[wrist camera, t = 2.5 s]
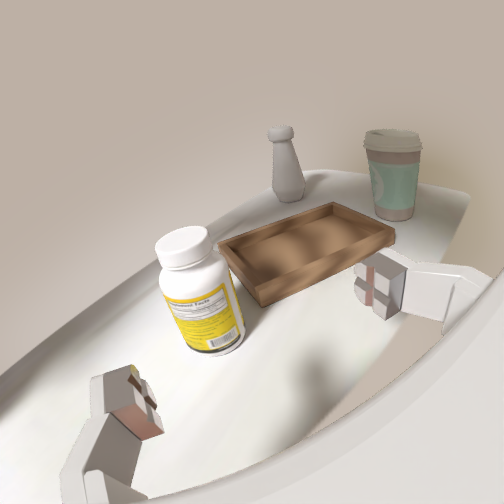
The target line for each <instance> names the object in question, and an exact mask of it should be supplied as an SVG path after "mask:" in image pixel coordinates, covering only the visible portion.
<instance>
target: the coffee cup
mask: <svg viewBox="0 0 504 504" xmlns="http://www.w3.org/2000/svg"><path fill="white" fill-rule="evenodd" d="M363 146H364V148H366V153H367V158H368V164H369V170H370V176H371V183H372V190H373V197H374V204H375V212H376V215H377V216H378V217H380V218H382V219H385V220H389V221H404V220H407V219H409V218H411V217H412V215H413V209H414V203H415V196H416V189H417V181H418V173H419V163H420V152H421V150H422V149H423V148H422V143H421V142H420V139H419V136H418V134H417V133H415V132H412V131H407V130H396V129H382V130H372V131H368V132H366V136H365V140H364V145H363Z"/></svg>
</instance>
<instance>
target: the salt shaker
mask: <svg viewBox="0 0 504 504" xmlns="http://www.w3.org/2000/svg"><path fill="white" fill-rule="evenodd" d="M293 137H294V132H293V129H292V127H290V126H277V127H272V128H270V129H269V130H268V139H269V141H271V142H273V182H272V188H273V191H274V192H275V194H276V195H277V197H278V199H279V200H280V202H287V203H289V202H294V201H299V200H300V199H301V198H302V196H303V193H304V190H305V186H306V183H305V180H304V177H303V174H302V171H301V168H300V165H299V162H298V159H297V156H296V153H295V150H294V147H293V144H292V141H291V139H292V138H293Z"/></svg>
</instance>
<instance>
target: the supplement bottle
mask: <svg viewBox="0 0 504 504" xmlns="http://www.w3.org/2000/svg"><path fill="white" fill-rule="evenodd" d="M155 251H156V254H157V256H158V259H159V262H160V264H161V266H162V267H163V269H162V271H161V273H160V276H159V285H160V288H161V290H162V293H163V295H164V297H165V300H166V302H167V304H168V306H169V308H170V310H171V312H172V315H173V317H174V319H175V321H176V323H177V325H178V327H179V329H180V331H181V333H182V335H183V337H184V339H185V341H186V343H187V345H188V347H189V348H190V349H191V350H192V351H193V352H194V353H196V354H198V355H201V356H205V357H216V356H221V355H224V354H227V353H229V352H230V351H232V350H234V349H235V348H236V347H237V346H238V345H239V344H240V343H241V341H242V340H243V338H244V335H245V330H246V329H245V323H244V319H243V315H242V312H241V309H240V305H239V302H238V298H237V295H236V292H235V288H234V285H233V281H232V278H231V274H230V270H229V267H228V264H227V261H226V259H225V258H224V257H223V256H222V255H221V254H220V253H218V252H216V251H213V247H212V243H211V239H210V236H209V233H208V230H207V229H206V228H205V227H202V226H187V227H183V228H179V229H176V230H174V231H172V232H169V233H168V234H166V235H164V236H163V237H161V238H160V239H159V240H158V241H157V243H156V245H155Z"/></svg>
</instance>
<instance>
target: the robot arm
mask: <svg viewBox="0 0 504 504" xmlns="http://www.w3.org/2000/svg"><path fill="white" fill-rule="evenodd" d="M354 274H355V275H356V276H357V278H356V281H355V283H354V291H355V294H356V296H357V298H358V299H359V301H360V302H361V303H363V304H364V305H366V306H372V309H373V312H374V313H376V314H377V315H378V316H380V317H381V318H382V319H384V320H385V321H386V320H387V319H389V318H390V317H392V316H393V315H395V314H396V313H398V312H399V311H400V310H401V311H402V312H406V313H409V314H413V315H417V316H421V317H425V318H429V319H433V320H436V321H440V322H444V324H443V327H442V331H441V333H442V335H443V336H444V337H442V338H441V339H440V340H439V341H438V342H437V343H436V344H435V345H434V346H433V347H432V348H431V349H430V350H429V351H428V352H426V353H425V354H424V355H423V356H422V357H421V358H420V359H419V360H417V361H416V362H415V363H414V364H413V365H412V366H410V367H409V368H408V369H407V370H406V371H404V373H402V374H401V375H400V376H398V377H397V378H396V379H395V380H393V381H392V382H391V383H390V384H388V385H387V386H386V387H384V388H383V389H382V390H380V391H379V392H378V393H376V394H375V395H374V396H372V397H371V398H369V399H368V400H367V401H365V402H364V403H362V404H361V405H359V406H358V407H357V408H355V409H354V410H352V411H351V412H349V413H348V414H346V415H345V416H343V417H341V418H340V419H338V420H337V421H335V422H334V423H332V424H331V425H329V426H327V427H325V428H324V429H322V430H320V431H319V432H317V433H315V434H313V435H312V436H310V437H308V438H306V439H304V440H303V441H301V442H299V443H297V444H295V445H293V446H291V447H289V448H288V449H286V450H284V451H282V452H280V453H278V454H276V455H273V456H271V457H269V458H267V459H265V460H263V461H261V462H258V463H256V464H254V465H252V466H249V467H247V468H245V469H242V470H240V471H237V472H235V473H232V474H230V475H227V476H225V477H222V478H219V479H216V480H214V481H211V482H208V483H205V484H202V485H199V486H196V487H193V488H189V489H186V490H183V491H179V492H176V493H172V494H168V495H164V496H160V497H156V498H152V499H148V497H147V496H146V495H144V494H142V493H140V492H138V491H136V490H134V489H132V488H130V487H131V483H132V479H133V475H134V471H135V467H136V464H137V460H138V456H139V452H140V449H141V445H142V442H141V441H143V440H146V439H149V438H152V437H155V436H158V435H160V434H163V433H164V429H163V425H162V422H161V418H160V416H159V415H158V414H157V413H156V411H155V410H156V408H157V403H156V399H155V397H154V394H153V392H152V390H151V388H150V386H149V385H148V383H147V382H146V381H145V380H143V379H140V376H139V371H138V370H137V369H136V367H135V366H134V365H128V366H125V367H122V368H119V369H116V370H113V371H110V372H107V373H105V374H102V375H99V376H95V377H92V378H91V380H90V408H91V418H90V419H87V421H86V423H85V424H84V426H83V428H82V430H81V432H80V434H79V436H78V438H77V440H76V442H75V444H74V446H73V448H72V450H71V452H70V454H69V456H68V458H67V460H66V462H65V464H64V466H63V468H62V470H61V472H60V474H59V476H60V488H61V497H62V504H504V268H503V269H502V271H501V272H500V273H499V275H498V276H497V277H496V279H493V278H490V277H489V276H487V275H486V274H484V273H482V272H480V271H478V270H477V269H475V268H473V267H470V266H460V265H451V264H441V263H431V262H421V261H419V262H418V263H417V262H415V261H413V260H411V259H409V258H407V257H405V256H403V255H402V254H400V253H398V252H396V251H394V250H392V249H390V248H385V247H384V248H383V249H381V250H379V251H378V252H376V253H375V254H373V255H371V256H369V257H367V258H365V259H363V260H362V261H360V262H358V263H356V264H355V267H354Z"/></svg>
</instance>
